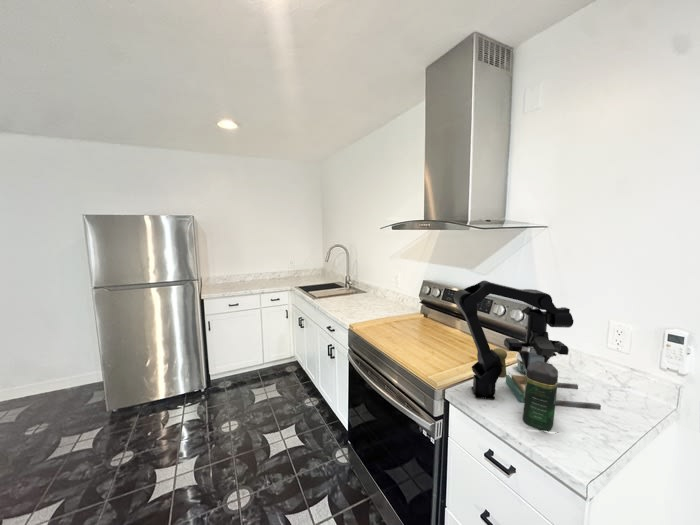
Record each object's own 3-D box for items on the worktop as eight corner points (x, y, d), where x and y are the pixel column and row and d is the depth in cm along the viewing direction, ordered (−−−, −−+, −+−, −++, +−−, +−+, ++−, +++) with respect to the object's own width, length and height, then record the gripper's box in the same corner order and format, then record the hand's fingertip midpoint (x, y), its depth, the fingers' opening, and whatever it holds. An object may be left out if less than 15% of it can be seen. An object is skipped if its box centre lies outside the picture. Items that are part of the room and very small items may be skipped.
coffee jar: (551, 436, 84) (557, 375, 81) (520, 424, 89) (524, 367, 86) (555, 419, 91) (560, 363, 89) (525, 409, 96) (530, 356, 94)
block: (528, 375, 101) (530, 356, 101) (523, 369, 106) (524, 351, 105) (542, 376, 101) (544, 357, 100) (536, 370, 105) (538, 352, 104)
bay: (516, 406, 98) (516, 396, 97) (499, 381, 113) (500, 372, 113) (603, 414, 93) (604, 403, 93) (573, 387, 109) (574, 378, 109)
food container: (530, 364, 127) (531, 350, 126) (556, 378, 116) (557, 363, 115) (507, 368, 124) (508, 353, 123) (532, 383, 112) (533, 366, 112)
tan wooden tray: (522, 400, 100) (523, 389, 99) (510, 384, 110) (511, 374, 109) (554, 403, 98) (555, 391, 98) (540, 386, 108) (541, 376, 108)
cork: (508, 379, 115) (510, 353, 113) (492, 378, 116) (493, 352, 114) (504, 372, 120) (505, 347, 119) (488, 371, 122) (489, 345, 120)
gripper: (517, 333, 95) (513, 378, 97) (580, 336, 92) (576, 383, 94) (504, 322, 106) (502, 363, 108) (561, 325, 103) (557, 367, 105)
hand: (533, 369), depth 103 cm, fingers closed on block, 4 cm apart
